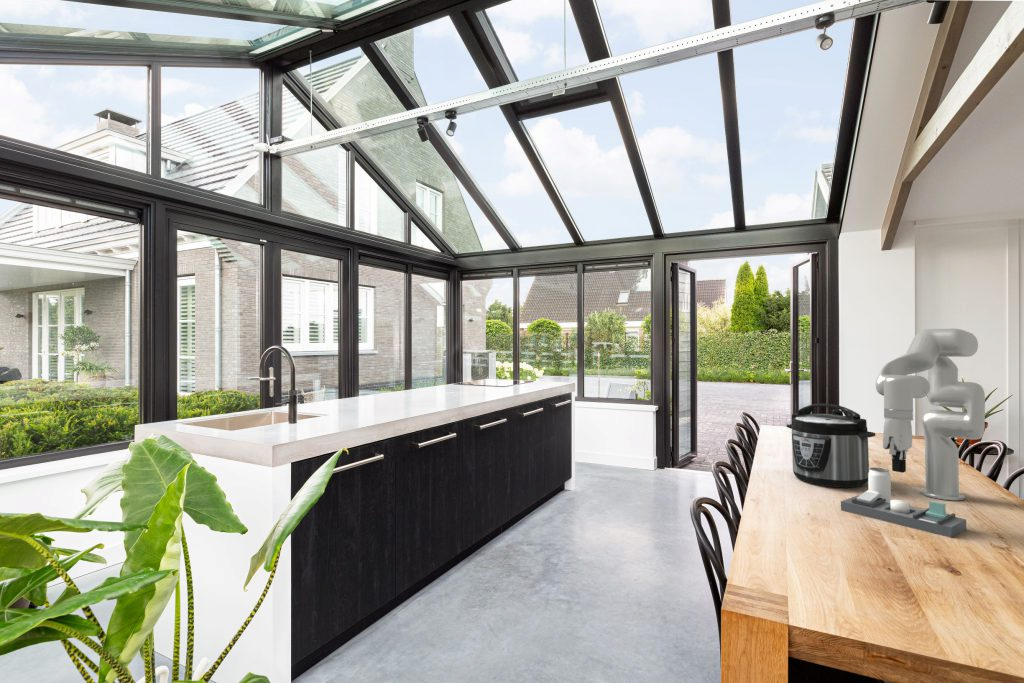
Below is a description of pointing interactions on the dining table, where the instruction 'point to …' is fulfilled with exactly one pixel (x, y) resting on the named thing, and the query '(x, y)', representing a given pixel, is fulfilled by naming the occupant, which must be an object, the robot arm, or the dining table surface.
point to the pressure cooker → (830, 447)
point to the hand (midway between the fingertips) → (898, 471)
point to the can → (880, 482)
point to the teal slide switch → (936, 510)
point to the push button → (900, 506)
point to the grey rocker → (869, 496)
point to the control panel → (906, 517)
